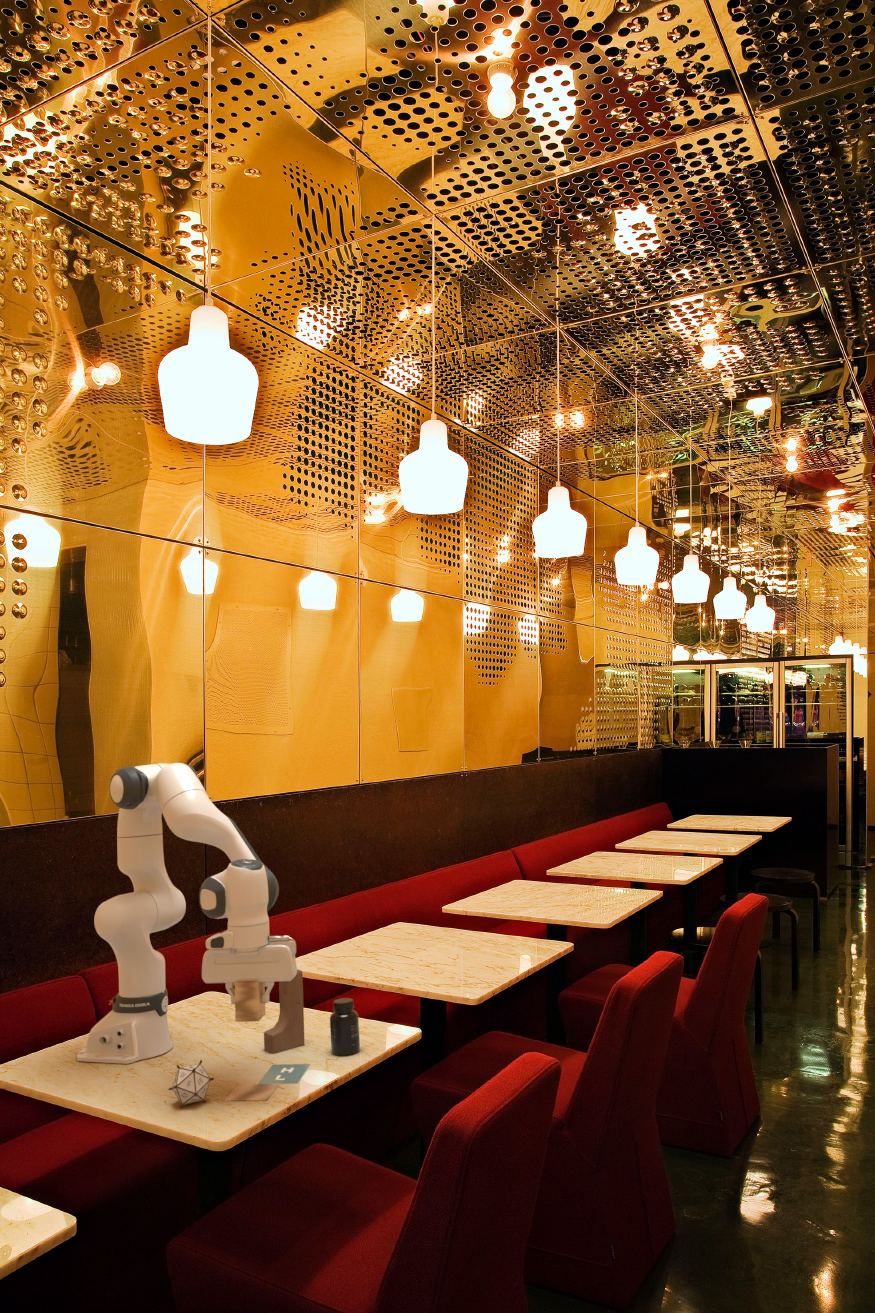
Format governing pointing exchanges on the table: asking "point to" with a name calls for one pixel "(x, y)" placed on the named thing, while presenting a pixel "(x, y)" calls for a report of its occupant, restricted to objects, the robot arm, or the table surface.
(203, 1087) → the game die
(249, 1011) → the oak block
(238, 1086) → the cork mat
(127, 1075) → the table surface
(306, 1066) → the tile
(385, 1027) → the table surface
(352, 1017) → the supplement bottle
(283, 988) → the wooden block
